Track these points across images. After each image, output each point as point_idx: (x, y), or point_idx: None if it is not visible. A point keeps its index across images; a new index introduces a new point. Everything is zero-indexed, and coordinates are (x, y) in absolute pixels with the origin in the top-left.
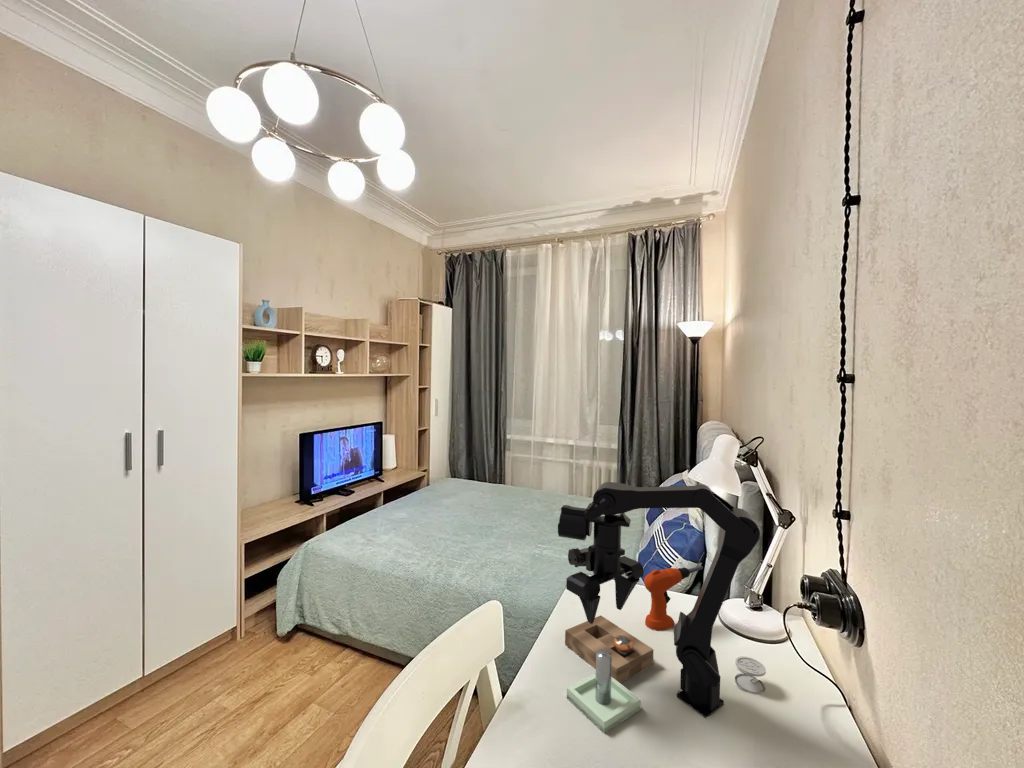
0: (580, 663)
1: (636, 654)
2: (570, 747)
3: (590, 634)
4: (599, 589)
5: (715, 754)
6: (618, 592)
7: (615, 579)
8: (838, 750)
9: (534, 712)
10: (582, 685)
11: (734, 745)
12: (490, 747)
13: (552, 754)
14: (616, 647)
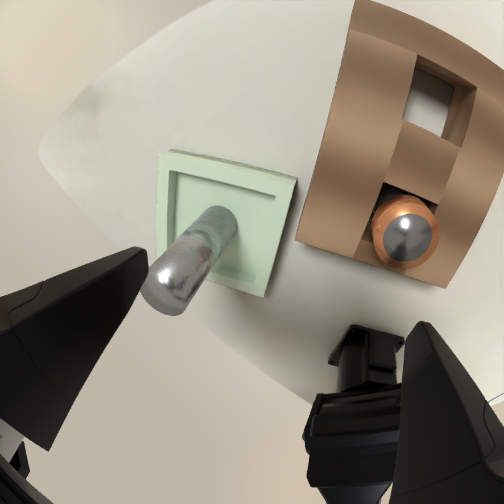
0: (310, 94)
1: None
2: (111, 223)
3: (439, 72)
4: (21, 475)
5: (267, 369)
6: (439, 425)
7: (487, 494)
8: None
9: (104, 133)
10: (197, 175)
11: (299, 381)
12: (43, 145)
13: (88, 210)
14: (375, 216)
